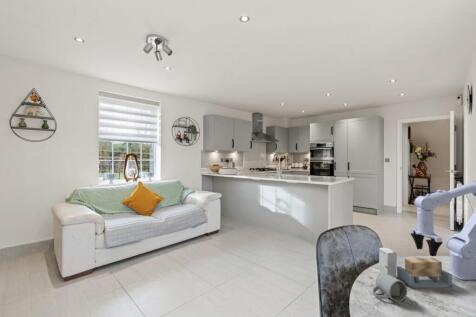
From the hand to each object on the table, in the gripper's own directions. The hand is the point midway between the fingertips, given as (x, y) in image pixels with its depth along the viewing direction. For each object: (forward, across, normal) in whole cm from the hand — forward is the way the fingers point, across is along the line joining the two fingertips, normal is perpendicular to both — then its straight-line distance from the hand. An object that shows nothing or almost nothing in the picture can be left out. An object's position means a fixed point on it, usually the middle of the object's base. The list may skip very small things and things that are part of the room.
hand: (426, 252), depth 105 cm
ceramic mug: (+10, +16, -28) cm, 34 cm away
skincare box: (+10, +2, -19) cm, 22 cm away
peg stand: (+10, +7, -7) cm, 14 cm away
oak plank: (+6, +7, -7) cm, 12 cm away
